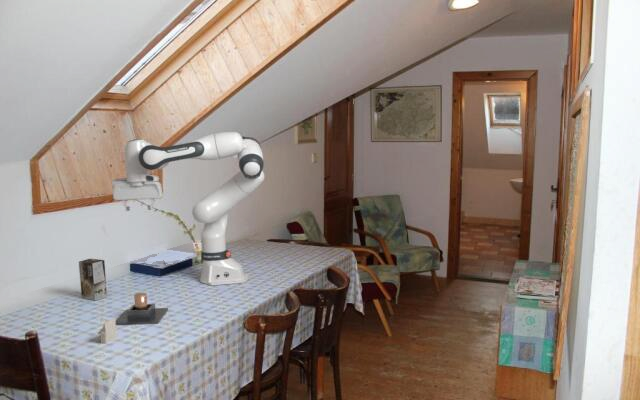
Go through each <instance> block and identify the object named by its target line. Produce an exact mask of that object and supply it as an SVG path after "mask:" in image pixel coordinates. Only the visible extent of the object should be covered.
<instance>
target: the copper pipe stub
mask: <svg viewBox="0 0 640 400" xmlns="http://www.w3.org/2000/svg"><path fill="white" fill-rule="evenodd" d="M147 295H148V294H147V292H138V293H135V294H134V295H133V296H134V305H135V310H148V307H147V304H148V296H147Z"/></svg>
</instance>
